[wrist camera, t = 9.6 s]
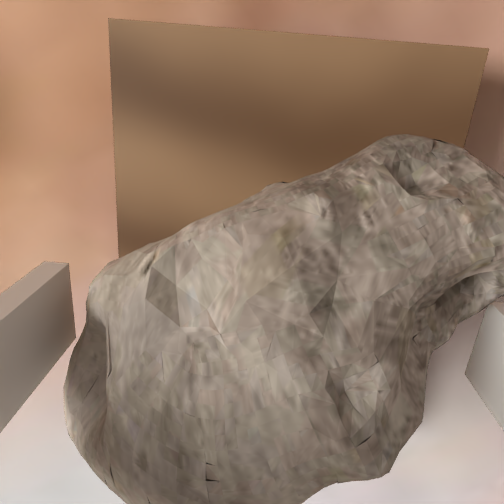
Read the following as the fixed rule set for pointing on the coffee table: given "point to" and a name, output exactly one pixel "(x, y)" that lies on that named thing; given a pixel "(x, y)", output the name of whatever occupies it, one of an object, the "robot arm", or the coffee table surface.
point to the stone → (285, 330)
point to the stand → (262, 112)
